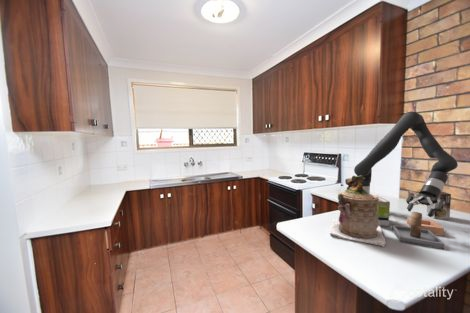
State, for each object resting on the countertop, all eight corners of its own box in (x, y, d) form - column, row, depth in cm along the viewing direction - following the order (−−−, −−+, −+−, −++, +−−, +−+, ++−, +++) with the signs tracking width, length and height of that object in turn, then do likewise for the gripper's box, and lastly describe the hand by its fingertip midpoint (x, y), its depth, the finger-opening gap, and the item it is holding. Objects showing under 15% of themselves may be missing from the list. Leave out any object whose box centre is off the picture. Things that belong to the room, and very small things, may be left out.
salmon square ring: (413, 231, 112) (414, 224, 111) (406, 223, 122) (407, 217, 122) (443, 235, 106) (444, 228, 106) (433, 227, 117) (433, 220, 117)
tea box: (389, 226, 119) (390, 201, 117) (370, 225, 121) (371, 200, 119) (377, 217, 133) (378, 194, 132) (360, 216, 135) (360, 194, 134)
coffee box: (440, 215, 135) (442, 191, 134) (450, 219, 128) (451, 193, 127) (425, 215, 136) (427, 191, 135) (434, 218, 129) (435, 193, 128)
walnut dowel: (411, 237, 103) (413, 213, 102) (408, 233, 107) (410, 211, 106) (421, 238, 102) (423, 215, 101) (418, 235, 105) (420, 212, 104)
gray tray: (400, 242, 101) (400, 237, 100) (391, 229, 115) (392, 224, 115) (443, 249, 94) (444, 243, 93) (429, 234, 108) (429, 230, 108)
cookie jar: (381, 228, 116) (383, 172, 113) (387, 249, 95) (390, 180, 92) (332, 220, 128) (334, 170, 126) (328, 236, 107) (330, 176, 104)
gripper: (413, 181, 113) (400, 204, 110) (448, 187, 100) (434, 213, 97) (418, 190, 116) (405, 212, 112) (452, 196, 103) (439, 222, 99)
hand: (418, 213), depth 105 cm, fingers open, 8 cm apart
